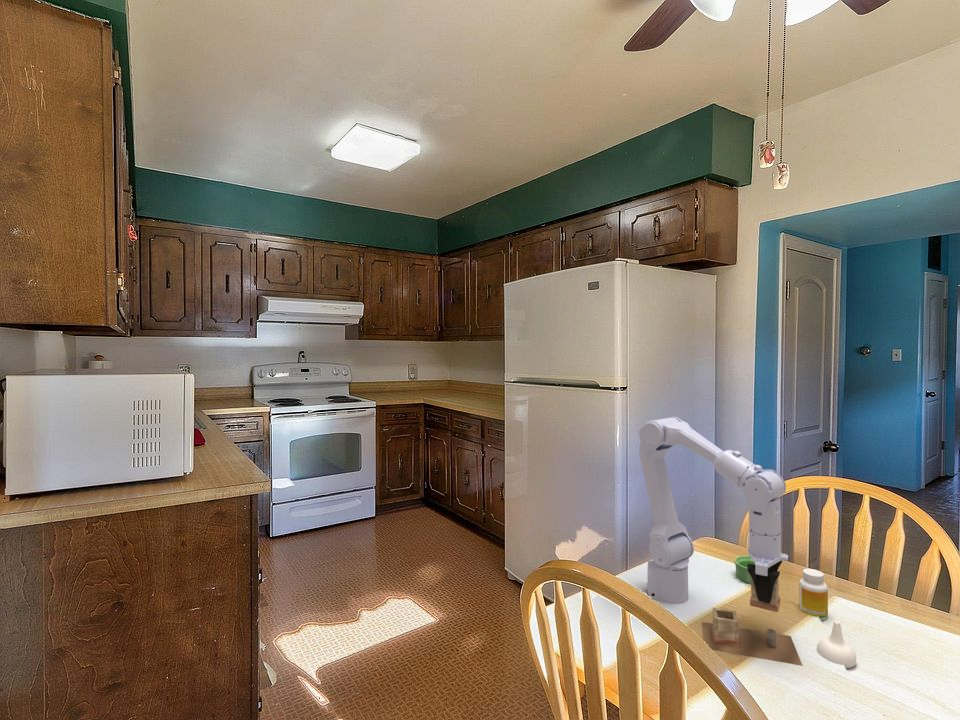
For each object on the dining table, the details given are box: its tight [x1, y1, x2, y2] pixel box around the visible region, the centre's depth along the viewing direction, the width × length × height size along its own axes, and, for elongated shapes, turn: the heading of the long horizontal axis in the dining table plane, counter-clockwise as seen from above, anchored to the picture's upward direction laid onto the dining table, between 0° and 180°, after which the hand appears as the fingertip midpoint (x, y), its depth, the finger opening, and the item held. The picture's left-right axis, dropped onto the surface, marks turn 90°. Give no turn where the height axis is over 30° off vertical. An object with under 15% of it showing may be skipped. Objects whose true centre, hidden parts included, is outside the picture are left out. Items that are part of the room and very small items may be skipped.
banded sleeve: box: [749, 578, 781, 613], centre depth 103 cm, size 5×5×5 cm
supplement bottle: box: [798, 568, 829, 621], centre depth 114 cm, size 5×5×10 cm
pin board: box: [701, 621, 803, 666], centre depth 103 cm, size 17×10×4 cm, turn 69°
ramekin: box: [733, 554, 755, 585], centre depth 131 cm, size 9×9×4 cm
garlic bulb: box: [816, 619, 857, 669], centre depth 98 cm, size 6×6×8 cm
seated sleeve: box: [711, 607, 740, 647], centre depth 104 cm, size 5×5×5 cm
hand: (765, 596), depth 103 cm, fingers closed on banded sleeve, 4 cm apart
